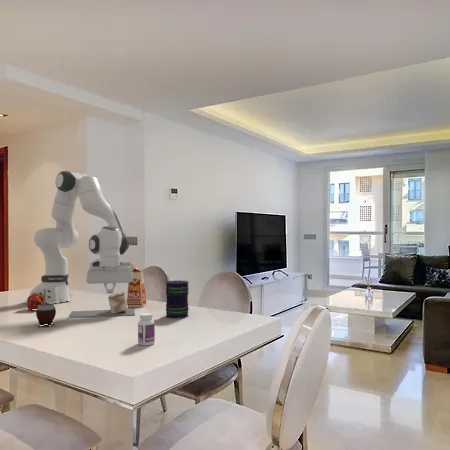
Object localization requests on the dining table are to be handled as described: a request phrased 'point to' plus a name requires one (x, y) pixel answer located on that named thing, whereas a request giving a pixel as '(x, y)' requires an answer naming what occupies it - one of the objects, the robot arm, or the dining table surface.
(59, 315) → the dining table surface
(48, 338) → the dining table surface
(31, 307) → the dragon fruit
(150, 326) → the pill bottle
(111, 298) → the block
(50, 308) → the mate gourd
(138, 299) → the milk carton
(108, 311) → the mat
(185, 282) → the navy striped can
